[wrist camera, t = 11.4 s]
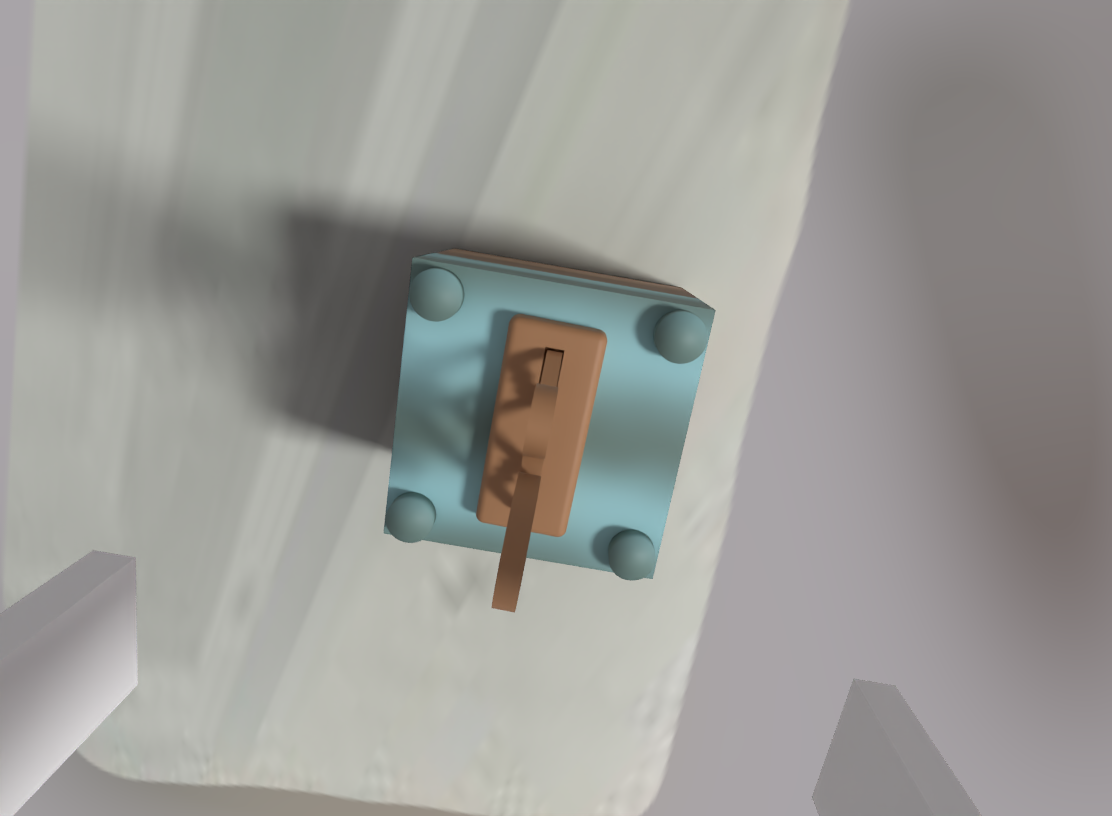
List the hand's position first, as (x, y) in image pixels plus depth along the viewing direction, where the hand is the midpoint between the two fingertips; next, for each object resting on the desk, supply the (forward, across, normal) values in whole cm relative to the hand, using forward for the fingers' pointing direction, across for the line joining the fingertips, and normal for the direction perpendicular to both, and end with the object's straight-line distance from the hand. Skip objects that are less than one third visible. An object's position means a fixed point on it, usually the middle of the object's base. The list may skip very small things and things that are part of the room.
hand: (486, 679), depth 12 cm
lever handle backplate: (+16, 0, 0) cm, 16 cm away
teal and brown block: (+25, 0, 0) cm, 25 cm away
